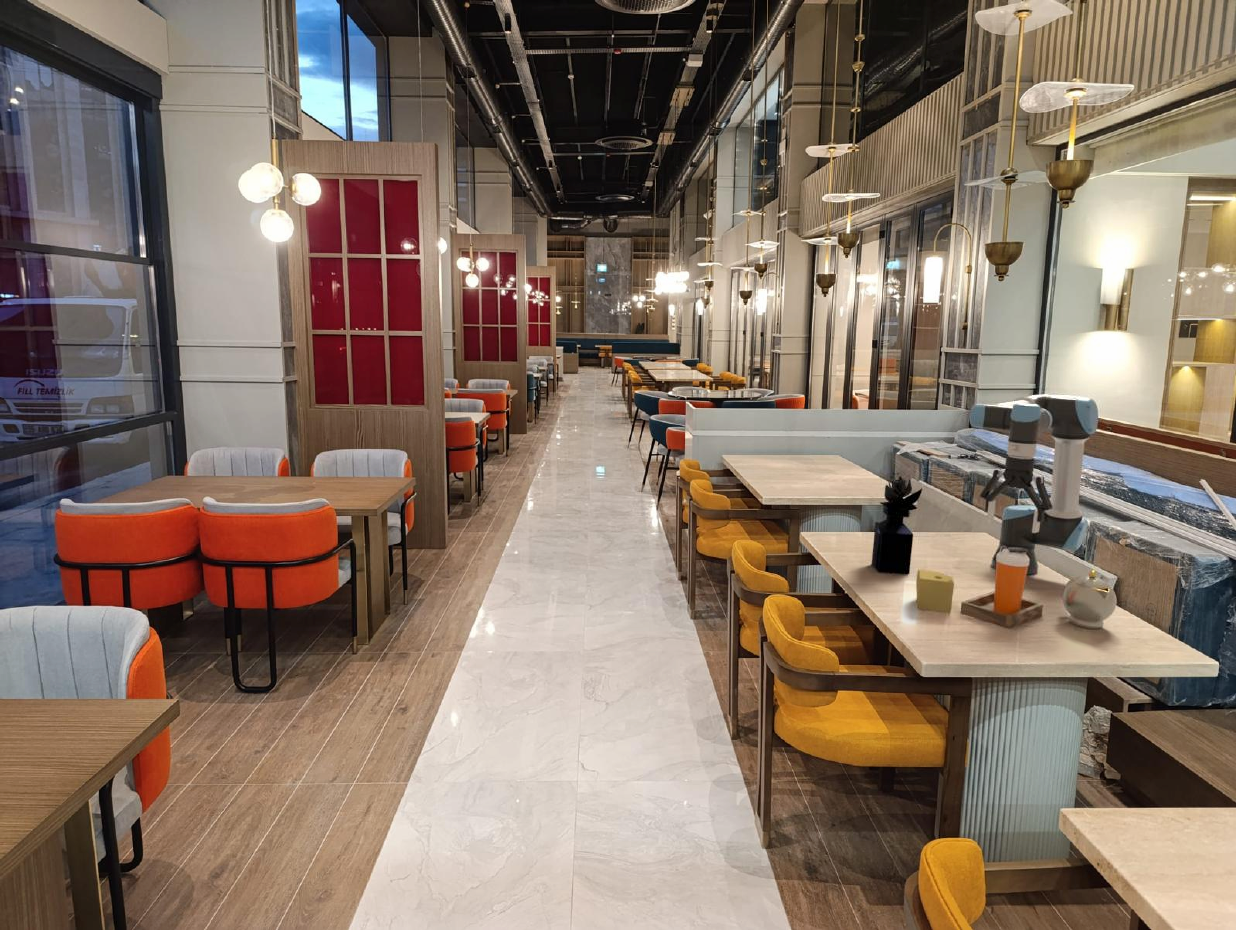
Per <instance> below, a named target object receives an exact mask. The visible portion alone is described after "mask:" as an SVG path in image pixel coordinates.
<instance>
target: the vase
mask: <svg viewBox="0 0 1236 930" xmlns="http://www.w3.org/2000/svg"><path fill="white" fill-rule="evenodd" d="M892 475H895V476H897V478H898V479H896V478H895V477H893V476H892ZM892 475H891V476H890V479H894V480H891V481H890V480H888V484H885V485H884V498H885V500H886V501H885V502H884V501H883V502H881V501H880V502H878V503H879V504H880V505H882V506H883V509H882V512H883V514H885V516H886V519H884V520H882V521H880V522H878V523H877V524H875V525H874V534H873V544H872V555H871V565H872V567H873V568H874V570H875V571H876V572H877V573H878V574H893V573H894V574H896V575H908V574H909V575H910V570H911V560H912V550H913V541H914V534H913V532H912V531H911V530H910V529H909V528H908V526H907V525H906V524H905V523H904V518H910V516H911V515H910V513H911V511H914V510H917V509H918V507H917V506H915V503H917V502H918V501H919V499H920V498H921V497H920V496H921V494H922V491H923V488H920V489H919V490H917V491H915V492H912V490H913V486H912V483H911V479H910V478H909V479H908V483H907V479H906V478H903V477H902V476H901V475H900V474H899V472H897V473H895V472H893V473H892ZM906 483H907V484H906ZM906 485H907V486H906Z"/></svg>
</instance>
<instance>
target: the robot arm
mask: <svg viewBox="0 0 1236 930" xmlns="http://www.w3.org/2000/svg"><path fill="white" fill-rule="evenodd" d="M969 423H970V426H971V427H973V428H978V429H980V430H983V429H985V430H986V429H987V430H994V431H995V430H996V431H1004V432H1005V431H1006V432H1008V441H1007V447H1006V454H1007V456H1006V457H1005V463H1004V464H1005V465H1004V469H1005V470H1002V469H1001V468H996V469H994V470H993V473H992V476H991V478H990V480H988V482H987V484H986V486H985V487H984V488H983V490H982V491H981V493H980V495H979V496H980V498H982V499H984V500H985V506H984V508H985V509H984V510H985V511H986V512H987V515H986V523H988V524H990V523H993V522H994V518H995V512H996V511H995V510H996V504H997V503H996V500H995V499H996V497H997V496H999V495H1000V494H1001V493H1003V491H1004V490H1006V489H1007V488H1008V487H1009V488H1016V489H1018V490H1023V491H1024V492H1026V494H1027V495H1028V497H1029V499H1030V500H1031V502H1032V504H1033V505H1022V504H1020V505H1009V506H1007V507H1005V508H1004V509H1003V513H1002V518H1001V525H1000V526H1001V527H1000V535H999V544H998V547H997V549H996V551H995V553H994V555H993V557H992V558H991V564H990V565H991V566H992V568H994V569H996V564H997V561H996V556H997V554H998V553H999V552H1000V548H1001V546H1007V548H1010V547H1018V548H1025V549H1027V550H1028V551H1027V552H1026V555H1027V556H1028V557H1029V559H1030V560H1029V566H1028V569H1027V574H1026V575H1033V574H1037V573H1038V570H1039V565H1038V559H1037V555H1036V550H1035V548H1036V545H1039V546H1044V547H1047V548H1054V549H1058V550H1062V551H1070V552H1071V551H1072V552H1075V551H1077V550H1078V549H1080V547H1081V546H1082V544H1083V542H1084V539H1085V536H1086V534H1087V530H1088V524H1089V522H1088V520H1087V519H1085V518H1083V516H1084V515H1083V511H1082V510H1081V509H1080V508H1079V501H1080V492H1081V480H1082V470H1083V461H1084V460H1083V459H1084V450H1085V442H1086V441H1088V440H1089V439H1090V438H1091V435H1092V434H1095V433H1096V432H1097V429H1098V423H1099V410H1098V406H1097V403H1096V401H1095V400H1094V399H1093V398H1090V397H1083V396H1077V395H1061V394H1060V395H1057V394H1043V393H1041V394H1033V395H1028V396H1021V397H1017V398H1016V399H1013V400H1012V401H1007V402H1001V403H997V404H996V403H995V404H987V403H986V404H985V403H975V404H974V405H973V406H972V407H971V409H970V412H969ZM1047 430H1050V436H1051V438H1052V439H1053V440H1054V442H1055V443H1054V454H1053V466H1052V477H1051V488H1050V496H1049V493H1048V491H1047V488H1046V485H1045V476H1043V475H1041V476H1034V468H1035V462H1036V461H1035V459H1034V458H1035V457H1036V453H1037V442H1038V435H1039V434H1043V433H1045V432H1046V431H1047ZM1002 477H1003V478H1004V481H1002V482H1001V483H1000V485H998V486H997V487H996V488H995V489H994V487H995V486H996V484H997V483H998V481H999V480H1000V478H1002ZM1032 482H1034V484H1035V485H1036V489H1037V492H1038V494H1037V492H1036V490H1035V488H1034V486H1033V484H1032ZM993 489H994V490H993ZM992 490H993V491H992ZM1019 552H1020V551H1019Z"/></svg>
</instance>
